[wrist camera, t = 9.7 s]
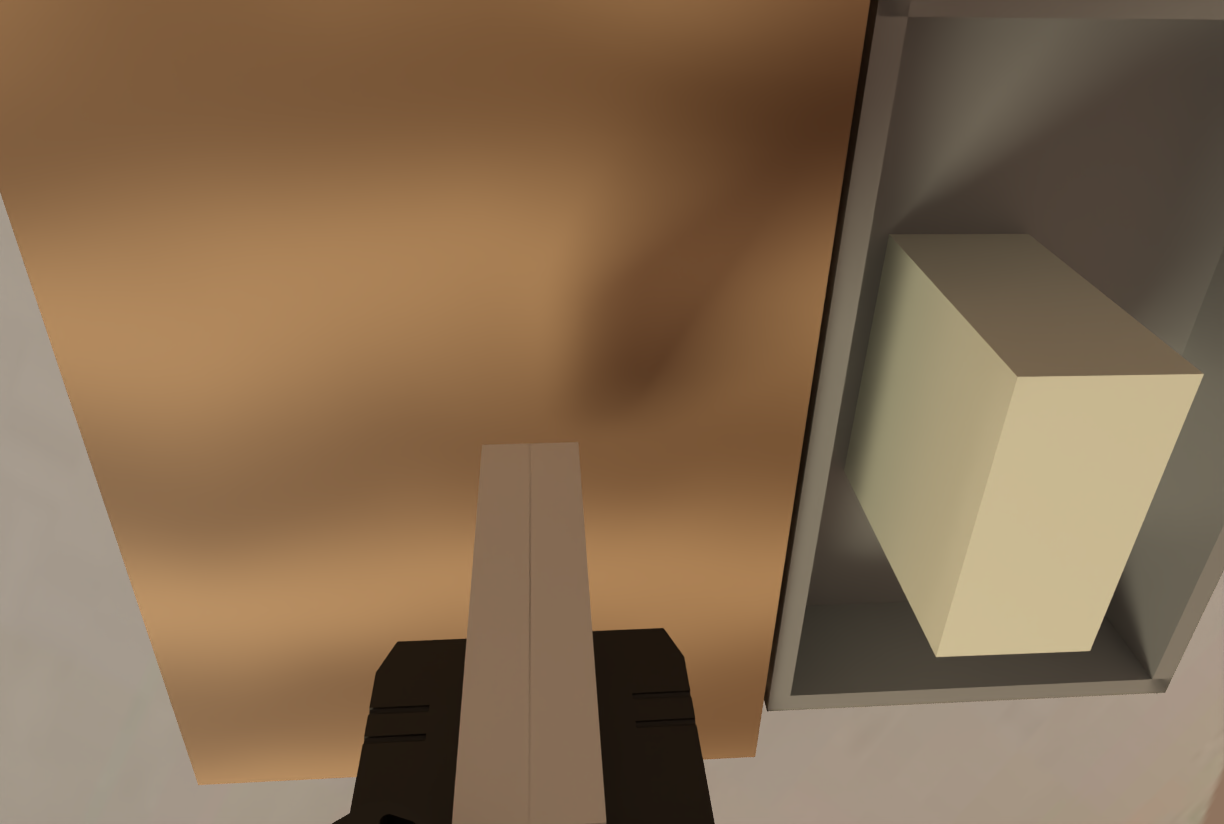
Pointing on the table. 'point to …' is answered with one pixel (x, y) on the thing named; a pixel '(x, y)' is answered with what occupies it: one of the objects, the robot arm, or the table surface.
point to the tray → (1079, 236)
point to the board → (427, 319)
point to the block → (1008, 440)
